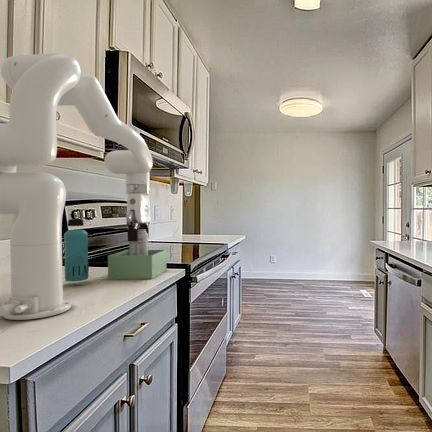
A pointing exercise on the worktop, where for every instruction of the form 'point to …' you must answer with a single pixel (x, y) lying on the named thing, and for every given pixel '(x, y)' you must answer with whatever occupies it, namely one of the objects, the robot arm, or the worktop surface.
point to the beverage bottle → (76, 252)
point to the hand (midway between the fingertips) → (138, 239)
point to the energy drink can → (139, 244)
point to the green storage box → (136, 265)
